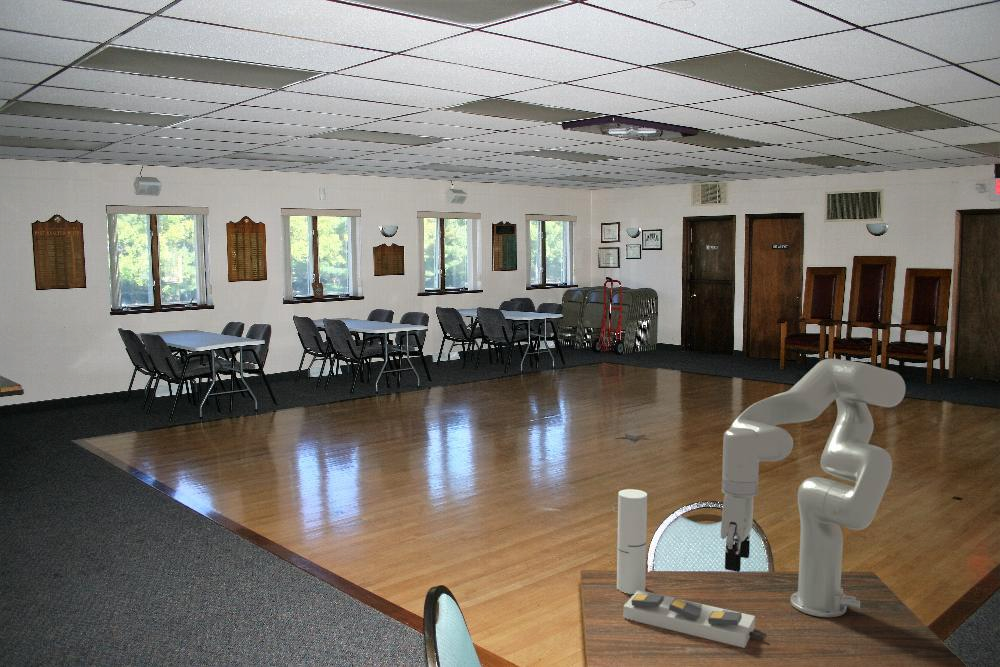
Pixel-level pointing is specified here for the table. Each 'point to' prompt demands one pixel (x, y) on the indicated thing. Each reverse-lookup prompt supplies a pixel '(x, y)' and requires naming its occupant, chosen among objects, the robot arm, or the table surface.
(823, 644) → the table surface
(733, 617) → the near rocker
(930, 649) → the table surface
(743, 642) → the power strip
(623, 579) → the cylindrical container
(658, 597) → the far rocker
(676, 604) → the middle rocker
